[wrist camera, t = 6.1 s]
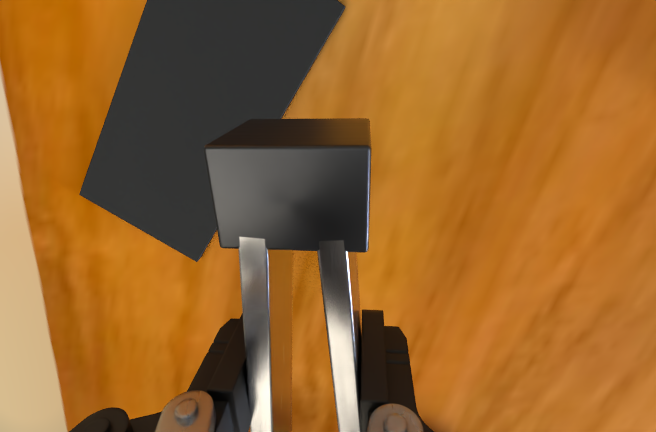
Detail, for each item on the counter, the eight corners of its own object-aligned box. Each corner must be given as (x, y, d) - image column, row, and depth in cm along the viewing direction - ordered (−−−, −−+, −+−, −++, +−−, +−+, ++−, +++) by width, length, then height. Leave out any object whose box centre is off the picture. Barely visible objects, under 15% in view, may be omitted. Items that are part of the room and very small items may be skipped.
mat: (191, -109, 19) (186, -114, 19) (345, 7, 21) (345, 6, 20) (84, 191, 27) (78, 194, 27) (200, 258, 29) (196, 262, 28)
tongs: (221, 118, 10) (163, 145, 7) (399, 117, 10) (413, 145, 7) (270, 465, 17) (250, 552, 14) (377, 475, 16) (380, 567, 13)
